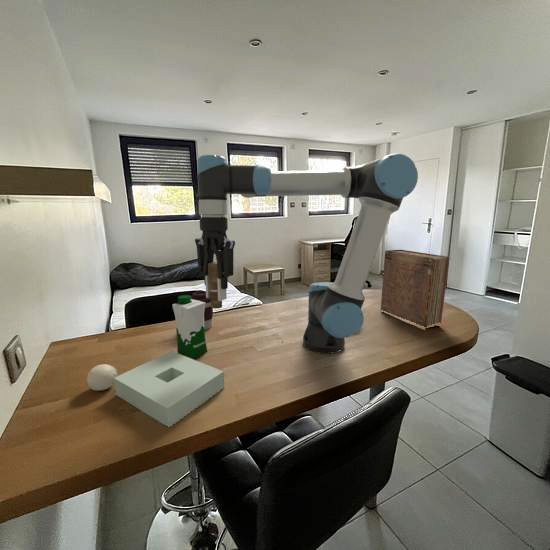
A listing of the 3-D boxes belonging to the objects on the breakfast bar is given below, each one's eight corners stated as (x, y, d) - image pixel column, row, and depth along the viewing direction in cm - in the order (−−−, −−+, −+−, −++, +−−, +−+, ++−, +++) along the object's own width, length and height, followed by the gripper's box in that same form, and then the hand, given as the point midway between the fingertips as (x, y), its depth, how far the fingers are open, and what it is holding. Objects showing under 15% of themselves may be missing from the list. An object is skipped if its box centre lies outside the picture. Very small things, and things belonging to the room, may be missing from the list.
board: (224, 387, 80) (223, 371, 79) (169, 427, 65) (167, 408, 64) (172, 365, 91) (171, 350, 90) (116, 394, 77) (113, 378, 76)
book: (441, 327, 121) (450, 256, 114) (425, 331, 117) (433, 258, 111) (394, 309, 143) (400, 249, 137) (380, 311, 140) (385, 250, 133)
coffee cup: (218, 323, 126) (216, 290, 123) (210, 332, 116) (209, 296, 113) (196, 322, 127) (194, 289, 124) (187, 331, 117) (184, 296, 114)
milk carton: (193, 345, 105) (189, 292, 101) (211, 351, 101) (208, 296, 96) (173, 355, 98) (168, 298, 94) (192, 362, 93) (187, 303, 89)
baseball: (122, 387, 80) (120, 365, 79) (92, 399, 75) (89, 376, 74) (114, 377, 85) (111, 356, 83) (85, 388, 80) (82, 366, 78)
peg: (226, 306, 85) (225, 262, 82) (216, 310, 82) (215, 265, 79) (216, 303, 87) (215, 261, 85) (206, 307, 84) (204, 263, 81)
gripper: (246, 216, 77) (247, 300, 82) (202, 215, 87) (205, 290, 92) (227, 217, 71) (229, 307, 76) (181, 215, 81) (186, 296, 86)
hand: (216, 298), depth 84 cm, fingers closed on peg, 4 cm apart
